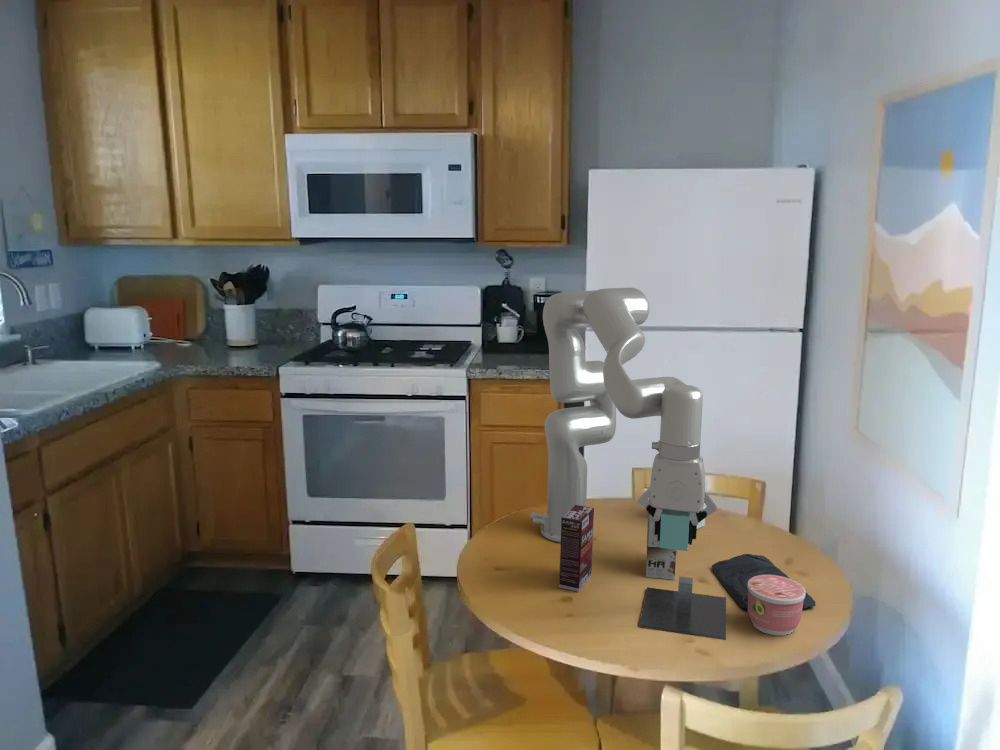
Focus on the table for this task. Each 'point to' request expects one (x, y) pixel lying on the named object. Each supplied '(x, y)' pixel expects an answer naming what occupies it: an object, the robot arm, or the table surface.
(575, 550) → the supplement box
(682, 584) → the brushed steel sheet
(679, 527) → the teal rectangular block
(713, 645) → the table surface
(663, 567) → the coffee box
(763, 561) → the dark fabric pouch
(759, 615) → the container
